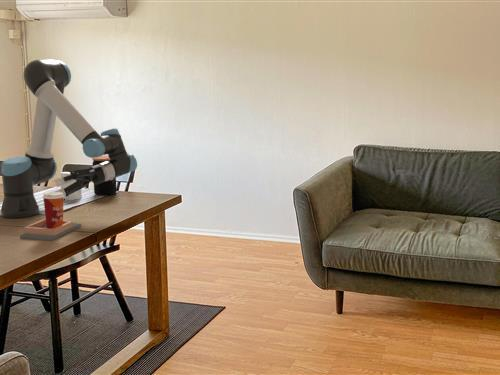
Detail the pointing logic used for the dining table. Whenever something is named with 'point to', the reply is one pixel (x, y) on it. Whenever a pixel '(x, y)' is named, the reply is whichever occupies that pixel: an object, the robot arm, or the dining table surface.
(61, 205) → the paper cup
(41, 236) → the cup stand
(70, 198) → the cylinder with rectangular tab
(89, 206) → the dining table surface
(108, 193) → the coffee jar
